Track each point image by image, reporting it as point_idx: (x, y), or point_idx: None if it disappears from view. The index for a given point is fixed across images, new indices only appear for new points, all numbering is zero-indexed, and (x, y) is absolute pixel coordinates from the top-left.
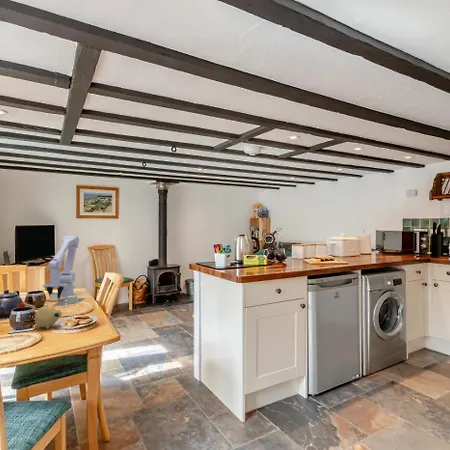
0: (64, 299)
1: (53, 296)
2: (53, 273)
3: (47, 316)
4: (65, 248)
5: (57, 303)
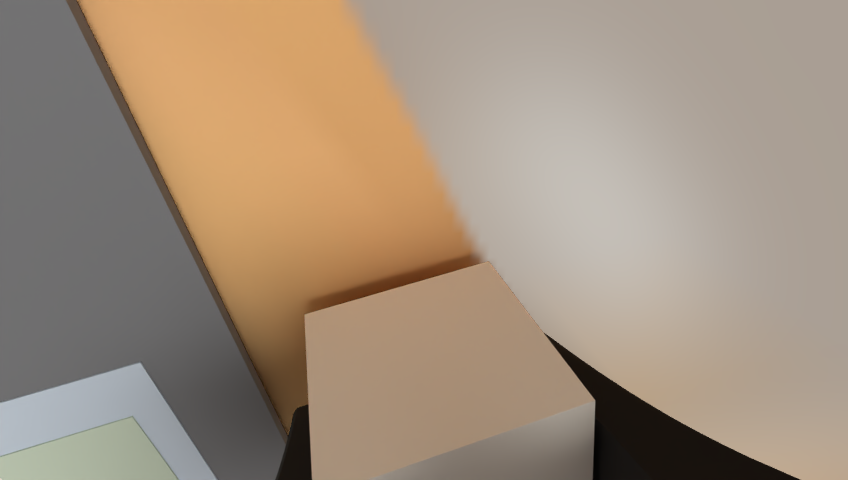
0: (259, 474)
1: (442, 376)
2: None
3: None
4: None
5: (34, 63)
